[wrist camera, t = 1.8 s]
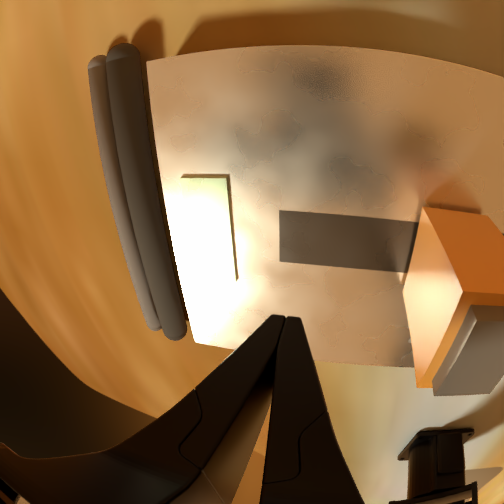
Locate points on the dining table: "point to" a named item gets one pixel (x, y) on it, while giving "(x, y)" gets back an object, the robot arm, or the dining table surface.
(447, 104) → the faceplate
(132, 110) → the cord
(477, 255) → the block
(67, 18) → the dining table surface
